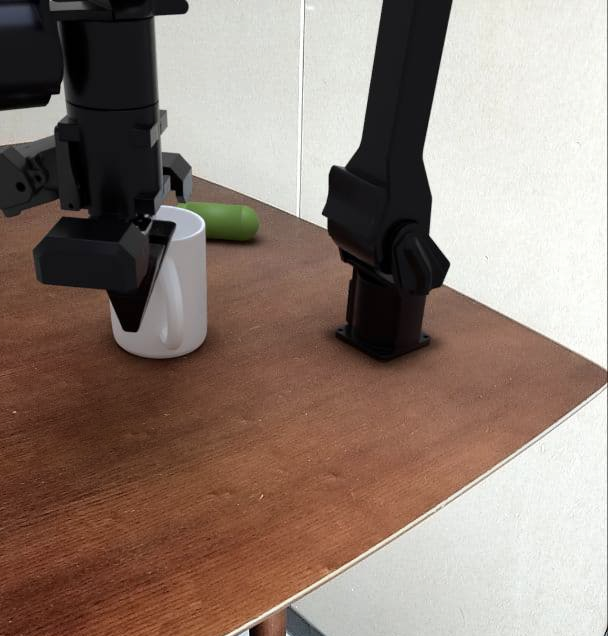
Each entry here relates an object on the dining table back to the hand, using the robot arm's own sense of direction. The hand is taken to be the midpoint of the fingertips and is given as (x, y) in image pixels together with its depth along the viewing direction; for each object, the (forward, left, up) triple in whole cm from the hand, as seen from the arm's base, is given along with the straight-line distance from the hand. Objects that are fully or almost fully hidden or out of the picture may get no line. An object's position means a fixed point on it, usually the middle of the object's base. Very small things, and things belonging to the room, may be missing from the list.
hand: (131, 330), depth 64 cm
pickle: (+25, -26, -7) cm, 37 cm away
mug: (+7, -7, -7) cm, 12 cm away
